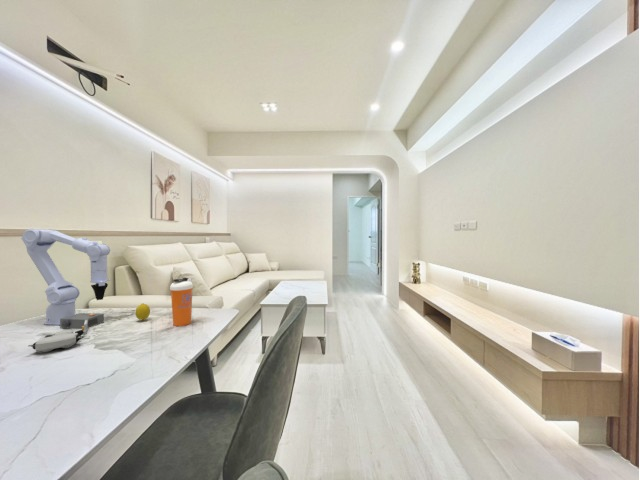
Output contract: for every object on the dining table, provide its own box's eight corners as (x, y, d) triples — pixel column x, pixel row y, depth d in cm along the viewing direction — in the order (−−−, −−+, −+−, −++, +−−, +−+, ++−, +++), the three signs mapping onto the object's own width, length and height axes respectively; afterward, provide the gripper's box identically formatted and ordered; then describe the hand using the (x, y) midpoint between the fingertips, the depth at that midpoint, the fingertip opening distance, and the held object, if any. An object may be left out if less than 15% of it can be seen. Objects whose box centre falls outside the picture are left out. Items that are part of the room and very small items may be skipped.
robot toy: (43, 345, 91) (26, 358, 79) (43, 332, 92) (26, 344, 79) (88, 337, 98) (79, 348, 86) (88, 325, 99) (79, 335, 86)
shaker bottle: (165, 325, 108) (164, 279, 107) (182, 319, 116) (181, 276, 116) (182, 328, 105) (181, 280, 105) (198, 321, 114) (197, 277, 113)
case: (57, 329, 105) (57, 318, 105) (80, 321, 114) (80, 311, 114) (83, 329, 104) (82, 318, 104) (103, 322, 113) (103, 312, 113)
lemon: (137, 319, 116) (136, 302, 116) (151, 318, 119) (151, 301, 118) (134, 323, 111) (133, 305, 111) (148, 321, 114) (148, 304, 113)
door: (88, 328, 105) (88, 319, 105) (87, 333, 99) (86, 324, 99) (83, 328, 104) (83, 319, 104) (82, 334, 98) (81, 324, 98)
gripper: (113, 270, 113) (113, 300, 113) (107, 268, 123) (108, 295, 123) (92, 272, 108) (93, 303, 108) (88, 269, 117) (88, 298, 118)
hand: (99, 299), depth 115 cm, fingers closed
